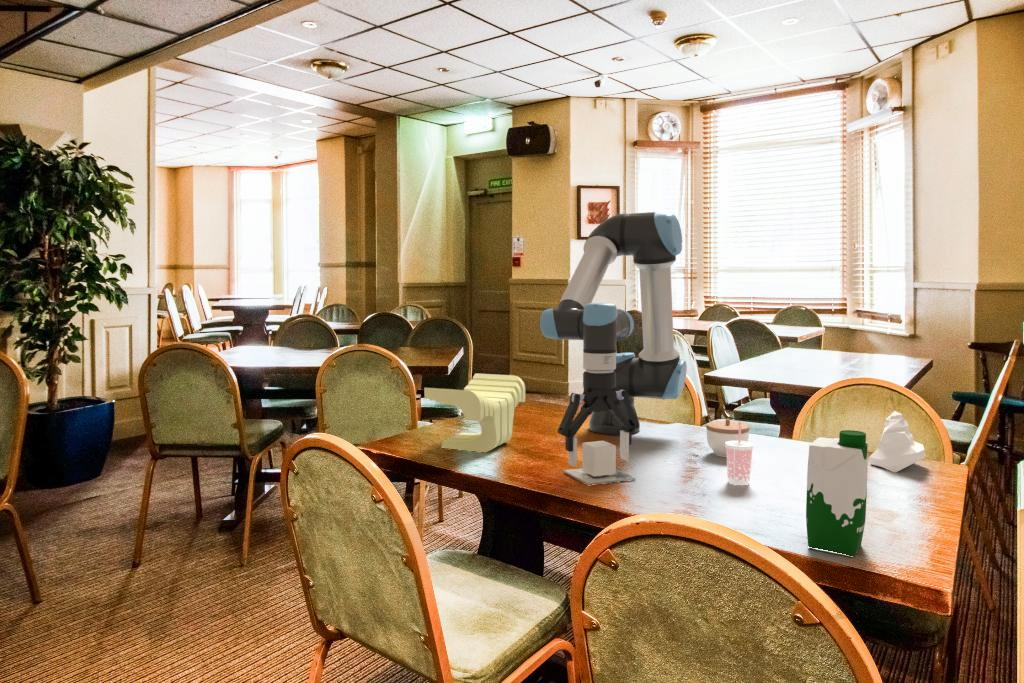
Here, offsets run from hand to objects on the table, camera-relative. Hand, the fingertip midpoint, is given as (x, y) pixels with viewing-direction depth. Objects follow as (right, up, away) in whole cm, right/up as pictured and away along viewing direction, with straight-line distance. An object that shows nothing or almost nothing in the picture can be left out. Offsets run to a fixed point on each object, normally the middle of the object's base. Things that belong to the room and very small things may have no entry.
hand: (598, 462), depth 165 cm
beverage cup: (+30, -4, -5) cm, 31 cm away
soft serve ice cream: (+73, -3, +9) cm, 74 cm away
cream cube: (0, -2, 0) cm, 2 cm away
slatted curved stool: (-29, -1, +31) cm, 43 cm away
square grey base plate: (0, -3, 0) cm, 3 cm away
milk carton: (+35, -7, -43) cm, 56 cm away
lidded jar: (+36, -2, +21) cm, 41 cm away
